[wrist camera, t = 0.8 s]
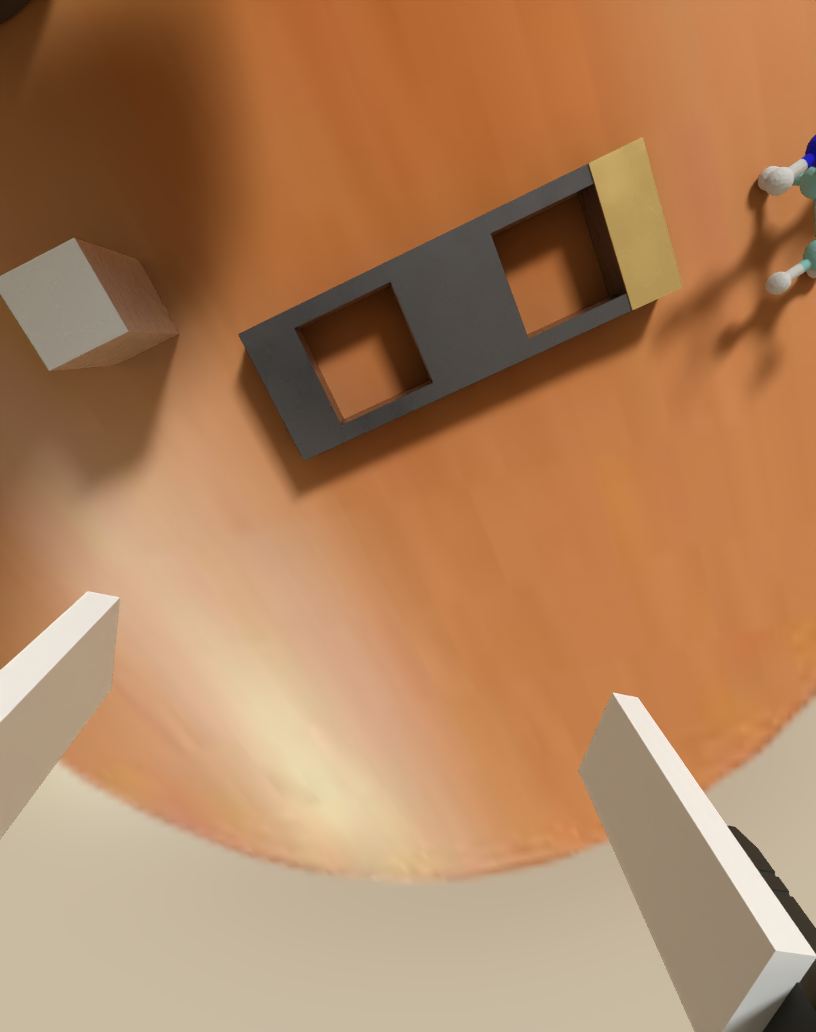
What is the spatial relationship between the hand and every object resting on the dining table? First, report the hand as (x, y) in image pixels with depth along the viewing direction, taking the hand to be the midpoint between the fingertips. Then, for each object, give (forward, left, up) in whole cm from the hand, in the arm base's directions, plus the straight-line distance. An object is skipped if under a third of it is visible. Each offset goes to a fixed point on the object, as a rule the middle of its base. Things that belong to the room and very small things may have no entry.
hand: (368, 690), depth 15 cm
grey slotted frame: (-8, +9, -23) cm, 26 cm away
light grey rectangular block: (-16, -9, -23) cm, 29 cm away
